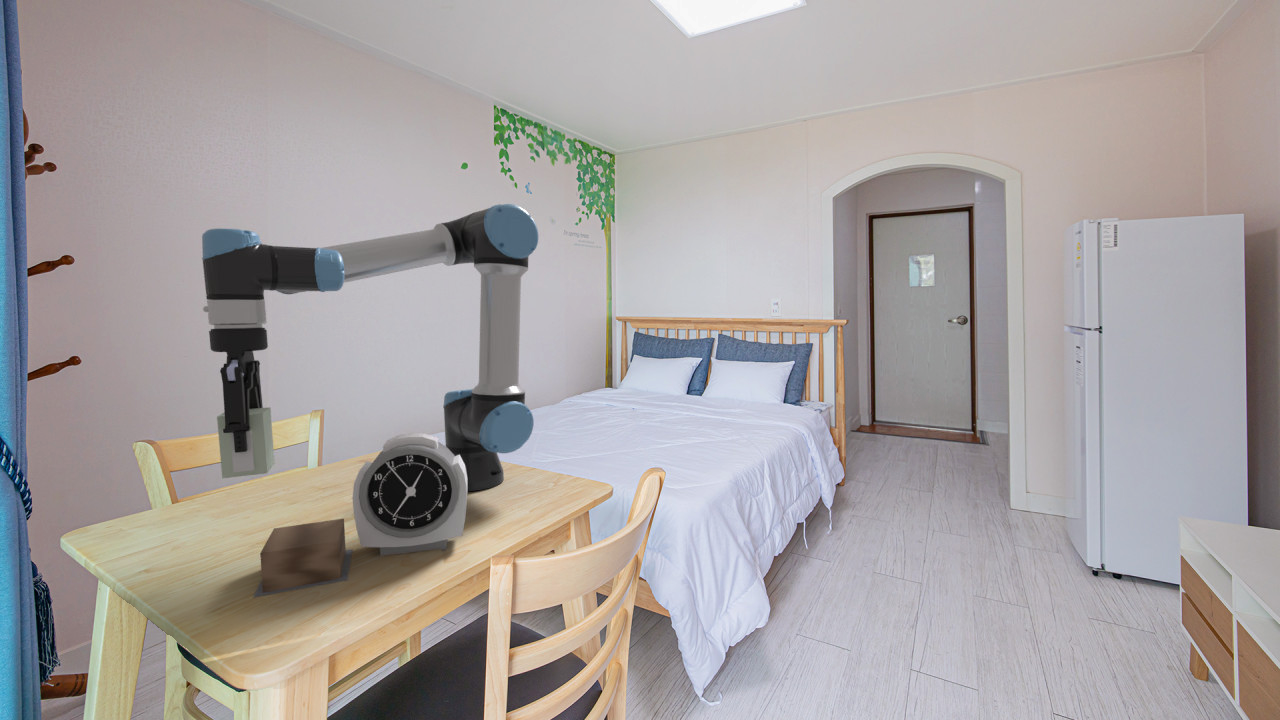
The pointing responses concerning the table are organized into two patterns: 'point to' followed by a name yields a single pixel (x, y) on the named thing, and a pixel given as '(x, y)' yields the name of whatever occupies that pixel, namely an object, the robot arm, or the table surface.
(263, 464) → the sage block
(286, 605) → the table surface
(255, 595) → the slate mat
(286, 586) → the walnut block
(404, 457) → the alarm clock
